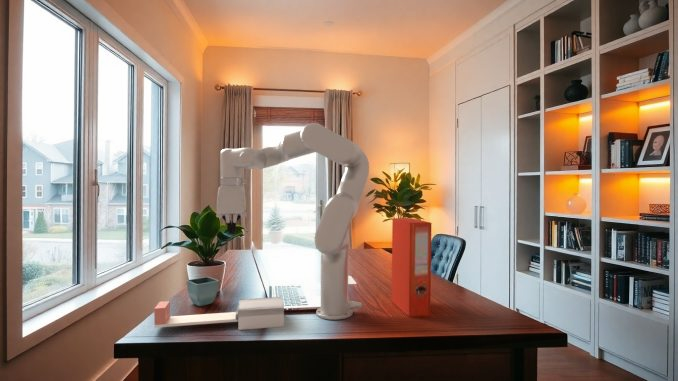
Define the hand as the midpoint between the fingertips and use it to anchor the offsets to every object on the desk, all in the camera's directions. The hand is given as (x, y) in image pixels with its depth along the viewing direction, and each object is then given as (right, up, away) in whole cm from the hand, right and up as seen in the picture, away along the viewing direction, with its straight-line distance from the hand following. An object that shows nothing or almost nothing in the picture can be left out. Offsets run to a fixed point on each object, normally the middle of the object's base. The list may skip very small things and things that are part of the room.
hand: (231, 233), depth 143 cm
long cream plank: (-5, -26, -18) cm, 32 cm away
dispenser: (+13, -27, -14) cm, 34 cm away
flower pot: (-12, -27, +5) cm, 30 cm away
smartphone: (+42, -27, +40) cm, 64 cm away
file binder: (+65, -27, -1) cm, 70 cm away
